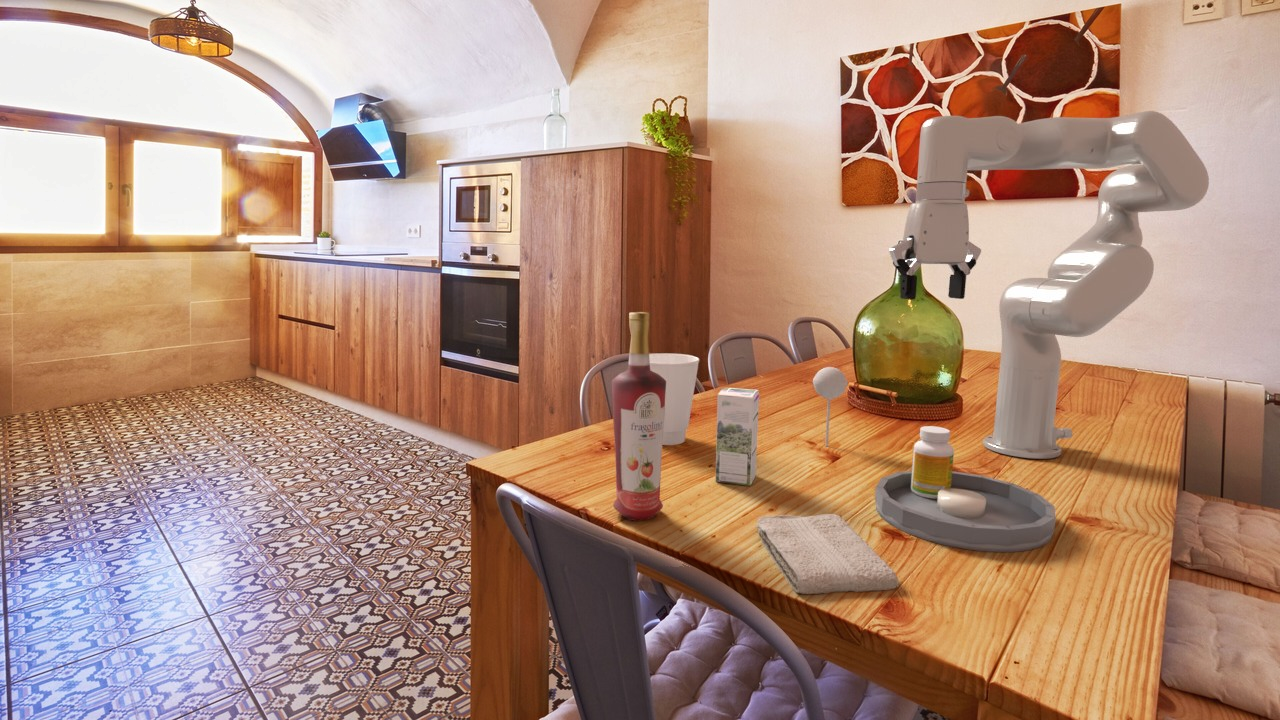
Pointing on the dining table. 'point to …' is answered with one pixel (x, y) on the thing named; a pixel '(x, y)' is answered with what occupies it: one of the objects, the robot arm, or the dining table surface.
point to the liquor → (638, 428)
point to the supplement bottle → (932, 462)
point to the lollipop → (829, 387)
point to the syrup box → (737, 435)
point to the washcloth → (823, 555)
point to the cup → (676, 392)
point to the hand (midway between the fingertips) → (932, 298)
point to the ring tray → (968, 513)
